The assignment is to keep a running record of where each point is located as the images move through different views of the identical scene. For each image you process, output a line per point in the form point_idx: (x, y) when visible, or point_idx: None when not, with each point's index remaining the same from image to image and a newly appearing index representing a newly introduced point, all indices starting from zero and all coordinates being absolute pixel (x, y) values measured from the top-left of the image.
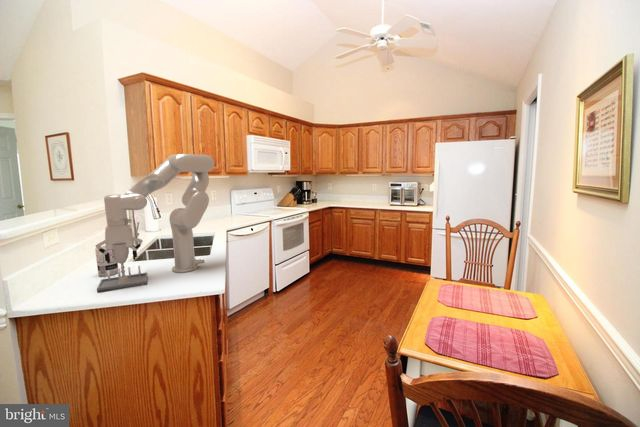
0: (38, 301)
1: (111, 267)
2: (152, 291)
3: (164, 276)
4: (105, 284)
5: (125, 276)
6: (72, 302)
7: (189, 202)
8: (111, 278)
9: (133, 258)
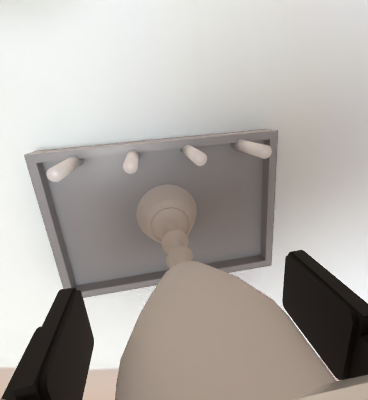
0: None
1: None
2: None
3: (335, 167)
4: (77, 218)
5: (181, 229)
6: (11, 351)
7: None
8: (86, 157)
9: (290, 313)
